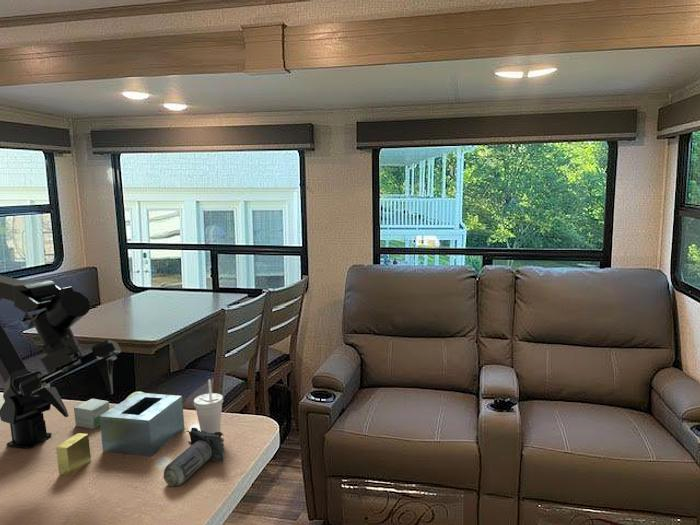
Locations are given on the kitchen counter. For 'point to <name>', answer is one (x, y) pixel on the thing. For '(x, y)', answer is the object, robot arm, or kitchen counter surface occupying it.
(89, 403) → the small box
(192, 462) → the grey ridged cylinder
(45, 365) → the robot arm
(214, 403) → the smoothie
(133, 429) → the box
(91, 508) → the kitchen counter surface
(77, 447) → the block
